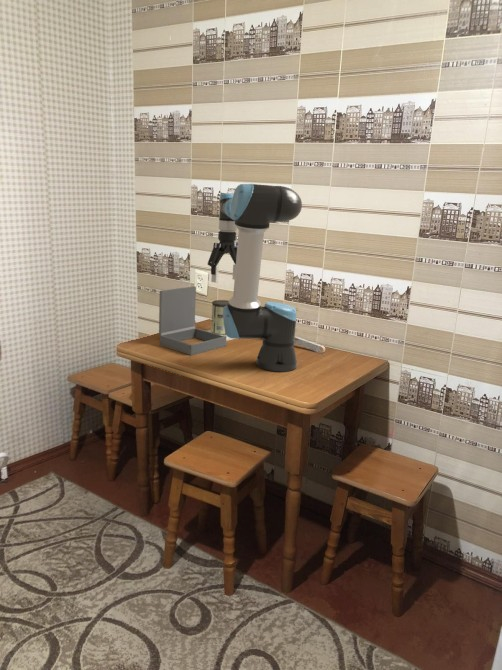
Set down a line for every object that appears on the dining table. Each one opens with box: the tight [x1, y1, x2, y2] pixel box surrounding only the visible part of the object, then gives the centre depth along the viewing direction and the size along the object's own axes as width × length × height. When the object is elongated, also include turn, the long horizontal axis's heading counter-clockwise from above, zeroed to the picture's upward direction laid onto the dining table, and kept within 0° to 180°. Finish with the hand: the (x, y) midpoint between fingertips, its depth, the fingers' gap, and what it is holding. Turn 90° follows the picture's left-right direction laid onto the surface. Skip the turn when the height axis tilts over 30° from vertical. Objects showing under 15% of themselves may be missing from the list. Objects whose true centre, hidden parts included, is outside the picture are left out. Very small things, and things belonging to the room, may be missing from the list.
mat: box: [205, 329, 237, 342], centre depth 235 cm, size 16×16×1 cm
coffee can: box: [210, 299, 229, 336], centre depth 233 cm, size 10×10×14 cm
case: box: [158, 285, 227, 356], centre depth 214 cm, size 19×20×22 cm
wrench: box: [294, 335, 326, 354], centre depth 224 cm, size 8×2×30 cm
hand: (225, 281), depth 229 cm, fingers open, 13 cm apart
